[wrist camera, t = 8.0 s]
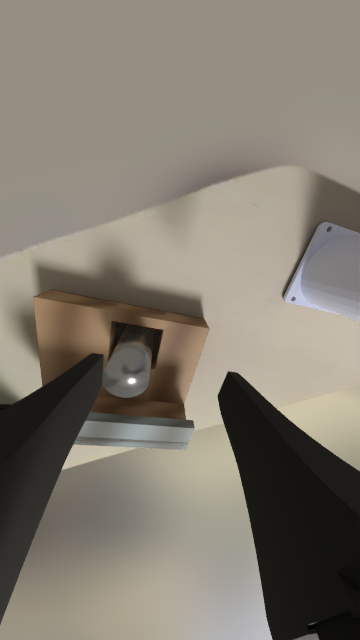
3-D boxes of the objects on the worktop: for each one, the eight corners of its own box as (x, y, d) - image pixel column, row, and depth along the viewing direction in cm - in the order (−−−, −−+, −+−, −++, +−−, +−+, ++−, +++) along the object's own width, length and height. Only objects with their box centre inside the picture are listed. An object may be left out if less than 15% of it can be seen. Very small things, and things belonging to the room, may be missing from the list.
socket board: (204, 318, 19) (223, 355, 13) (180, 394, 24) (185, 449, 17) (51, 289, 16) (-21, 317, 10) (57, 381, 21) (9, 441, 15)
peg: (153, 350, 20) (148, 397, 14) (123, 349, 20) (103, 397, 13) (154, 323, 19) (149, 362, 12) (121, 321, 18) (99, 361, 12)
